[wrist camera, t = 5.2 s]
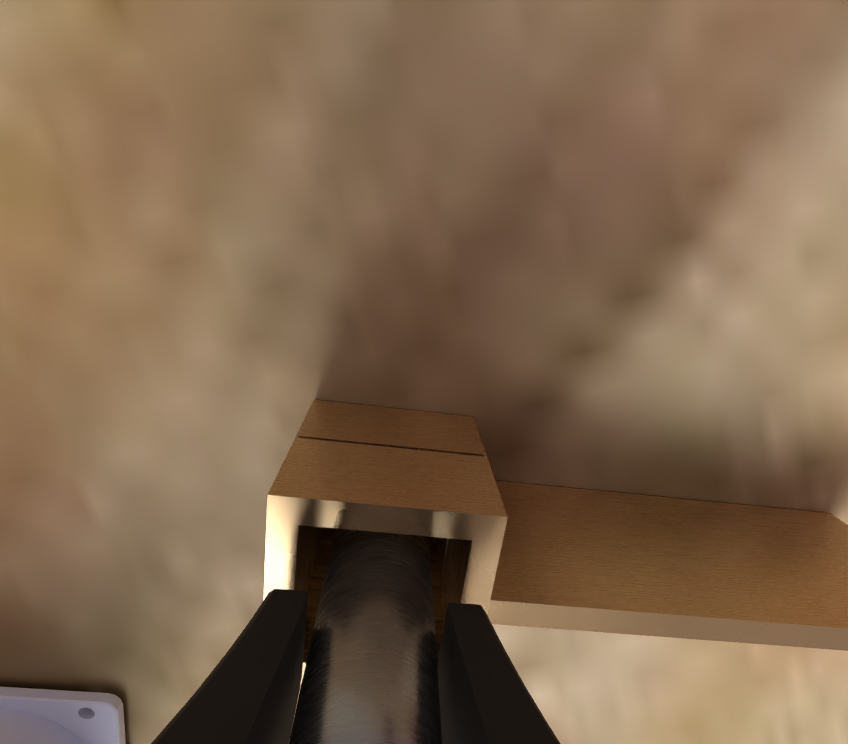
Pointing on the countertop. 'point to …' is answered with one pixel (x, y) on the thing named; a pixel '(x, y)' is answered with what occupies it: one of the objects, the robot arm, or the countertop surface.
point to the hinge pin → (372, 646)
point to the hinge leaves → (550, 539)
